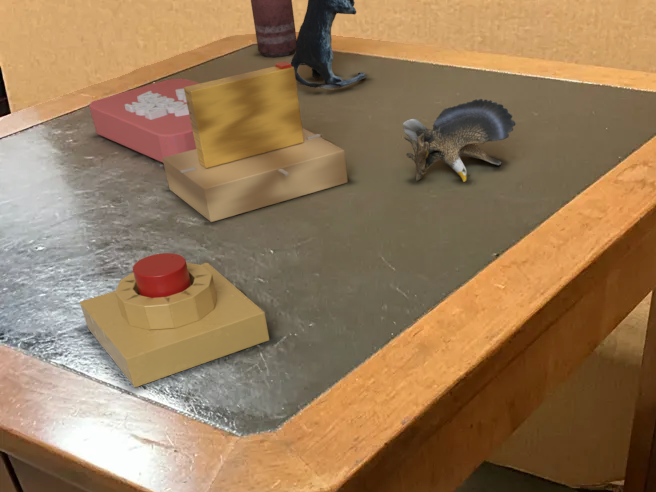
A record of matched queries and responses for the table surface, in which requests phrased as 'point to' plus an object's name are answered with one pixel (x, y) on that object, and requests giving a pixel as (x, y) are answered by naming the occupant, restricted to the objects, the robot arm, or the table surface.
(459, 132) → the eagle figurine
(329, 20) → the sculpture
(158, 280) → the button
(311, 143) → the stand
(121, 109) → the plaque
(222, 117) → the wooden block
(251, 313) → the switch
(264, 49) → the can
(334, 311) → the table surface
